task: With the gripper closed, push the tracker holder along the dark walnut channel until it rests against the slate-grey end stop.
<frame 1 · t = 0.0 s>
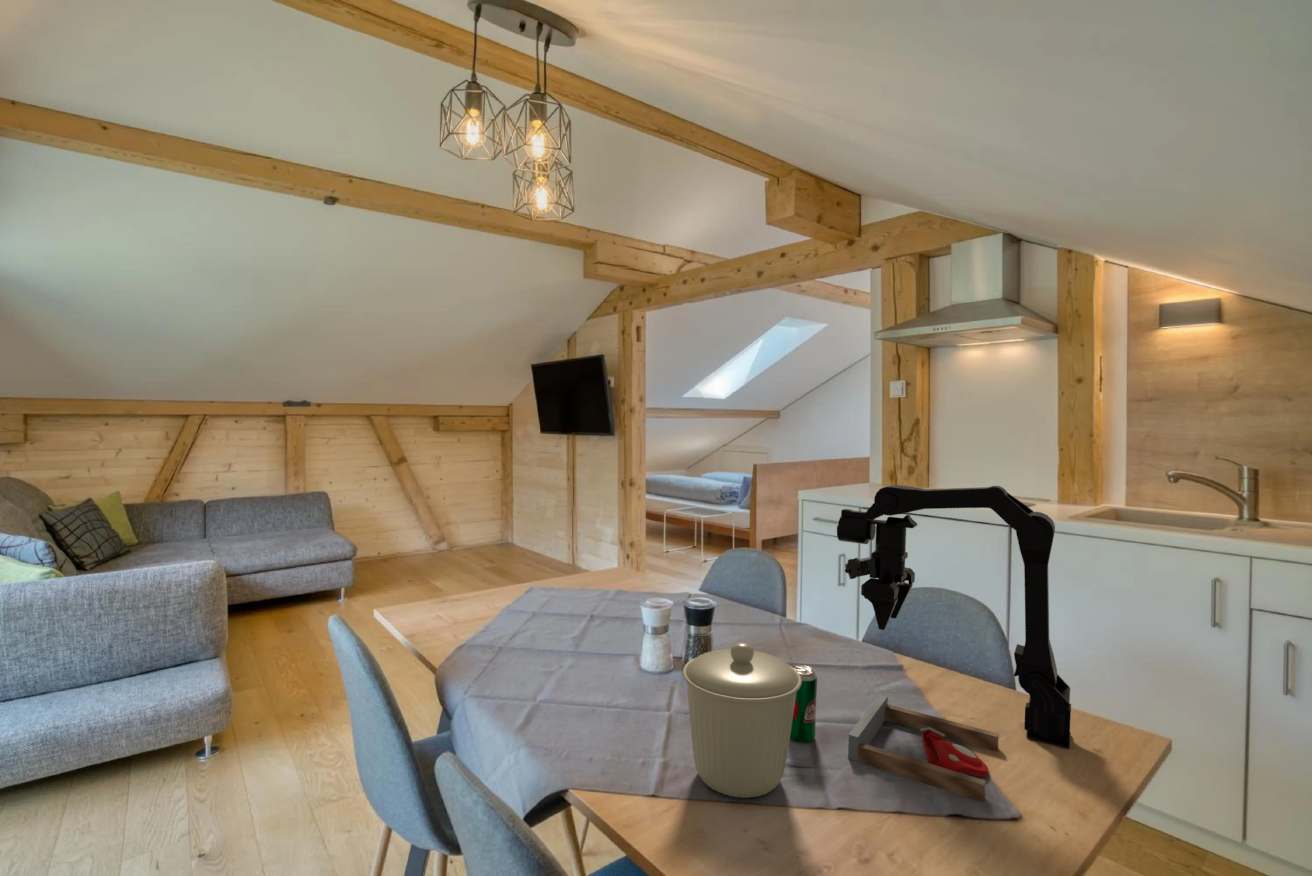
hand: (887, 623, 128), 15 cm above the table, tool pointing down, fingers open, 9 cm apart
soda can: (800, 738, 111), on the table
tracker holder: (951, 763, 104), on the table
walnut channel: (924, 752, 106), on the table
end stop: (868, 736, 111), on the table
canister: (738, 779, 97), on the table
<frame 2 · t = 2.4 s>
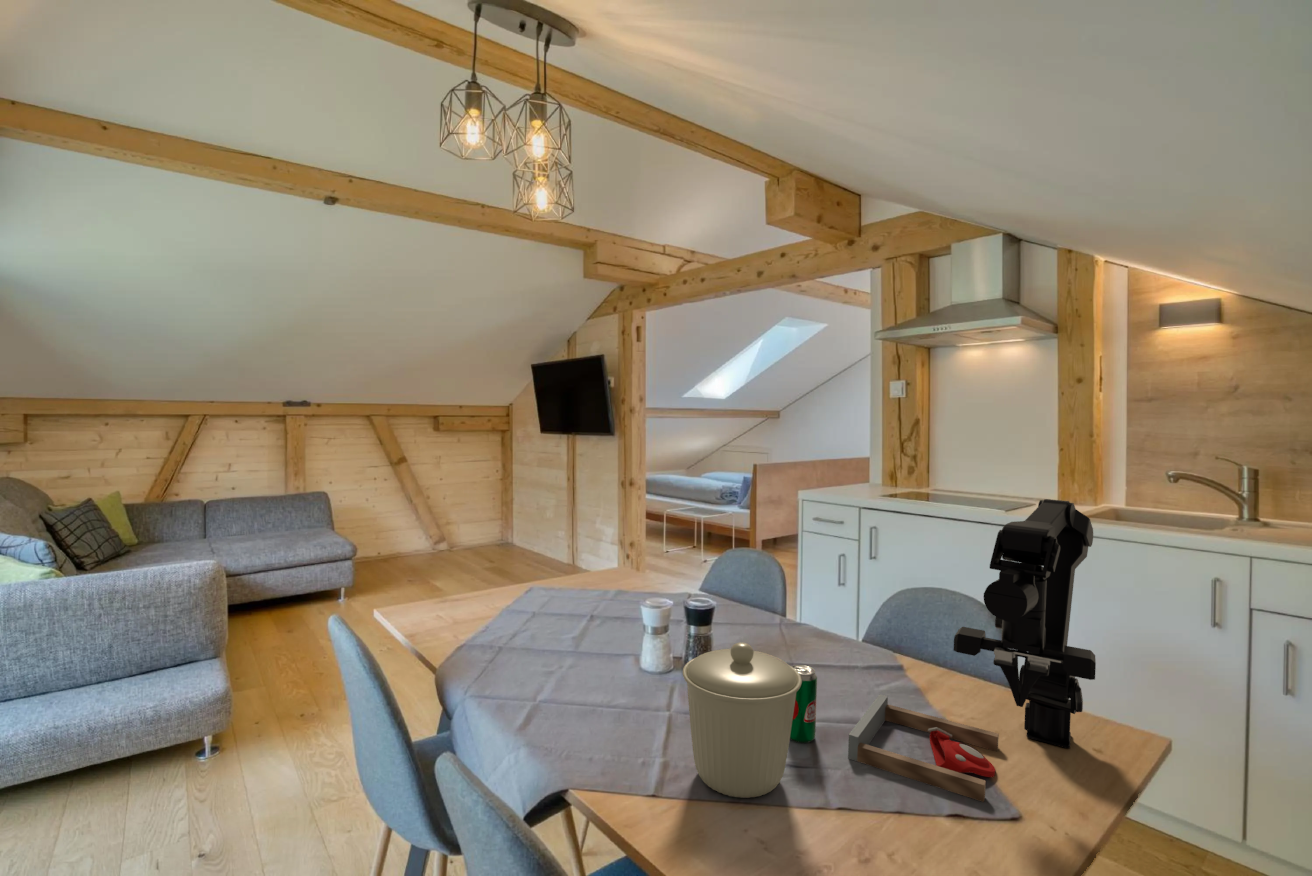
hand: (1019, 705, 98), 12 cm above the table, tool pointing down, fingers closed
tracker holder: (958, 764, 104), on the table
everything else where it was.
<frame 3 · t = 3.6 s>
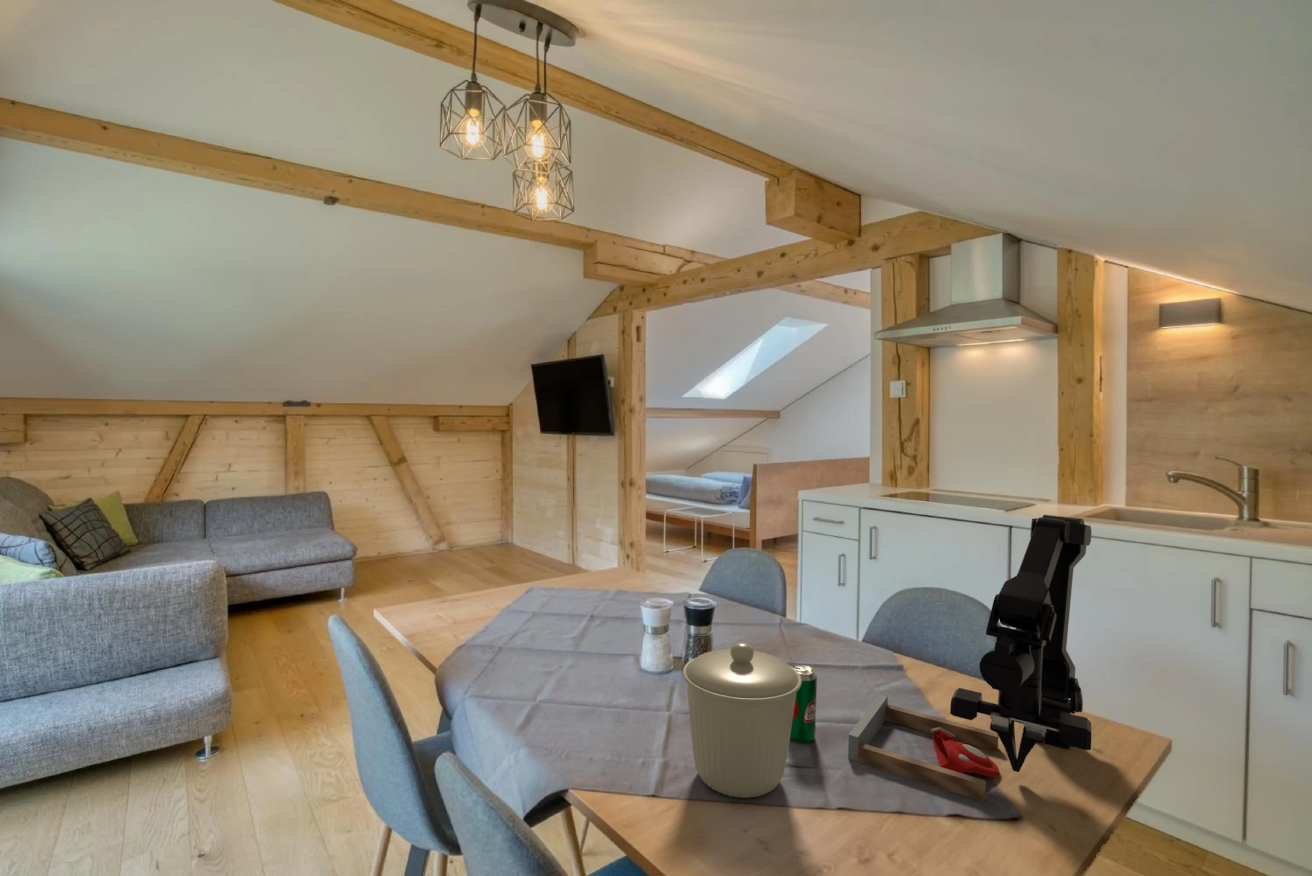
hand: (1016, 770, 99), 2 cm above the table, tool pointing down, fingers closed
nothing on the table moved.
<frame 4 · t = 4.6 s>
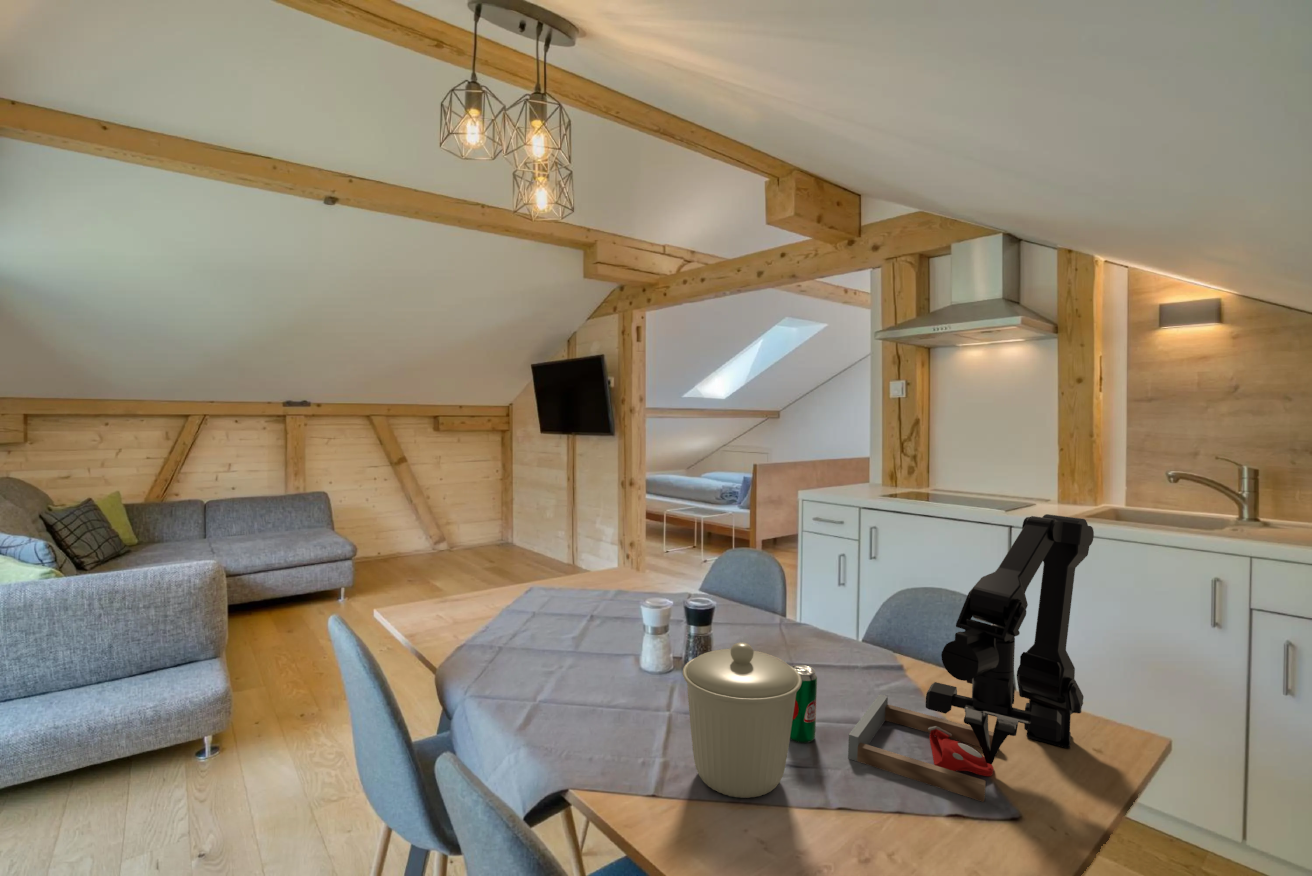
hand: (989, 762, 101), 2 cm above the table, tool pointing down, fingers closed
nothing on the table moved.
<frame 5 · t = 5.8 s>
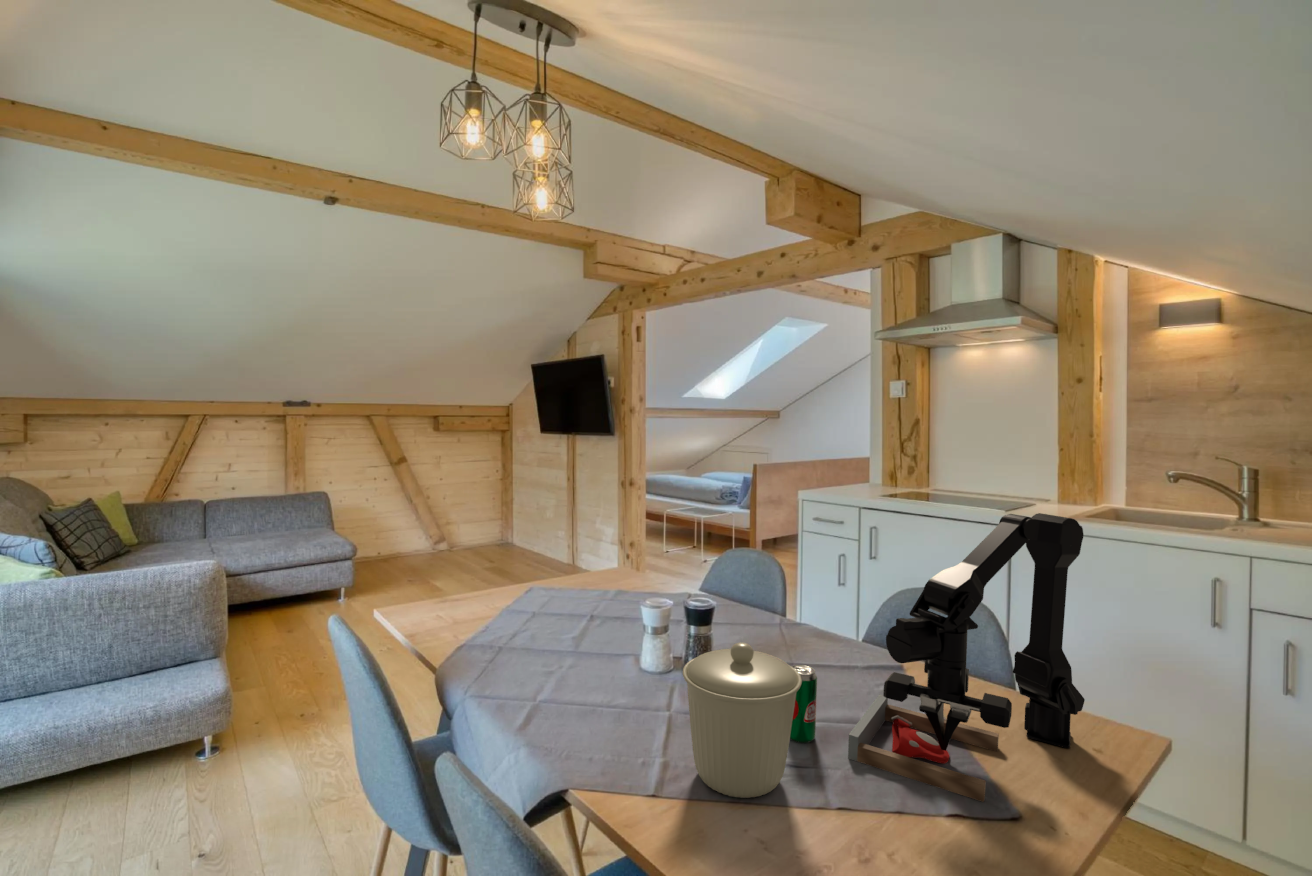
hand: (944, 748, 104), 2 cm above the table, tool pointing down, fingers closed
tracker holder: (916, 750, 108), on the table
everything else where it was.
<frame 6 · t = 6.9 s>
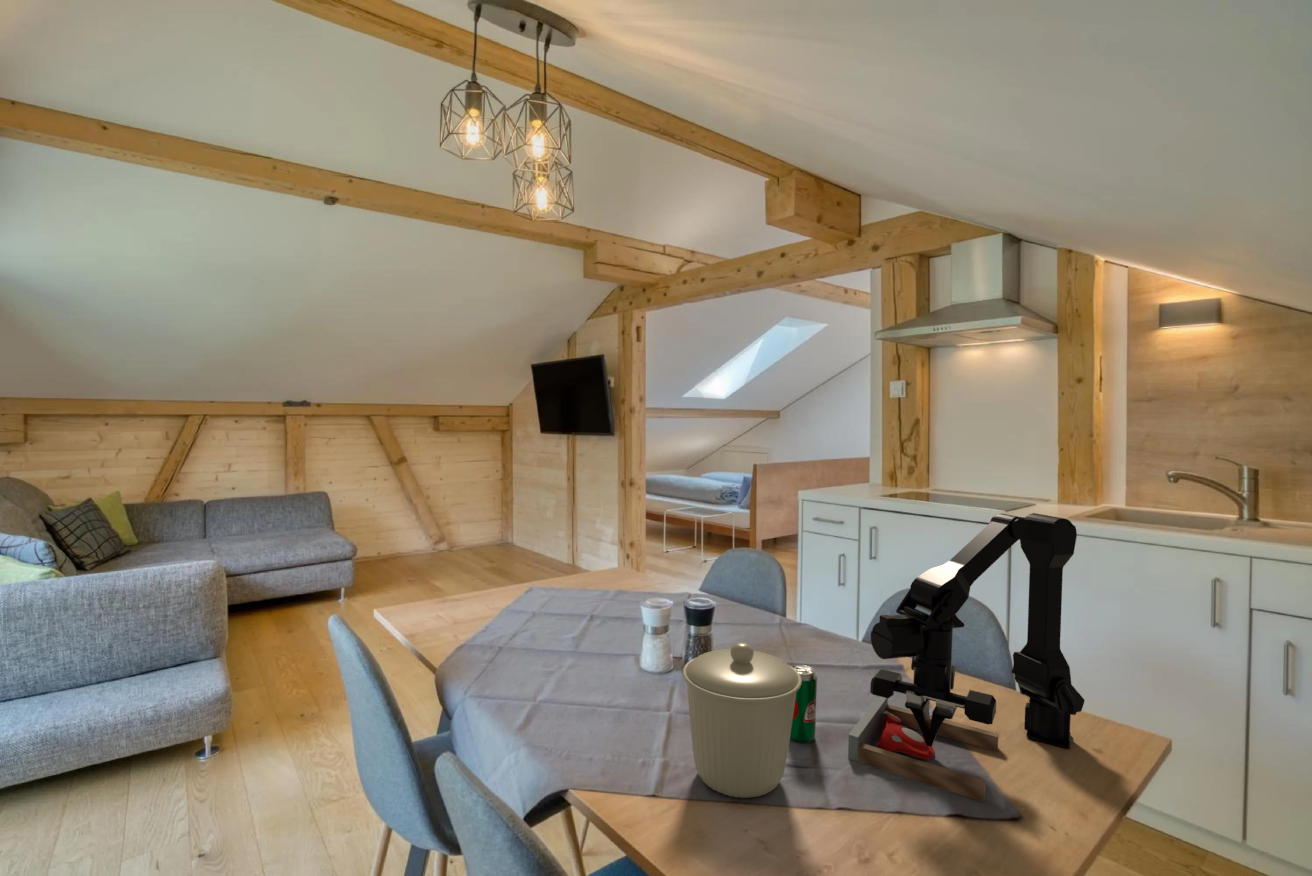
hand: (929, 744, 106), 2 cm above the table, tool pointing down, fingers closed
tracker holder: (902, 746, 109), on the table, touching gripper
everything else where it was.
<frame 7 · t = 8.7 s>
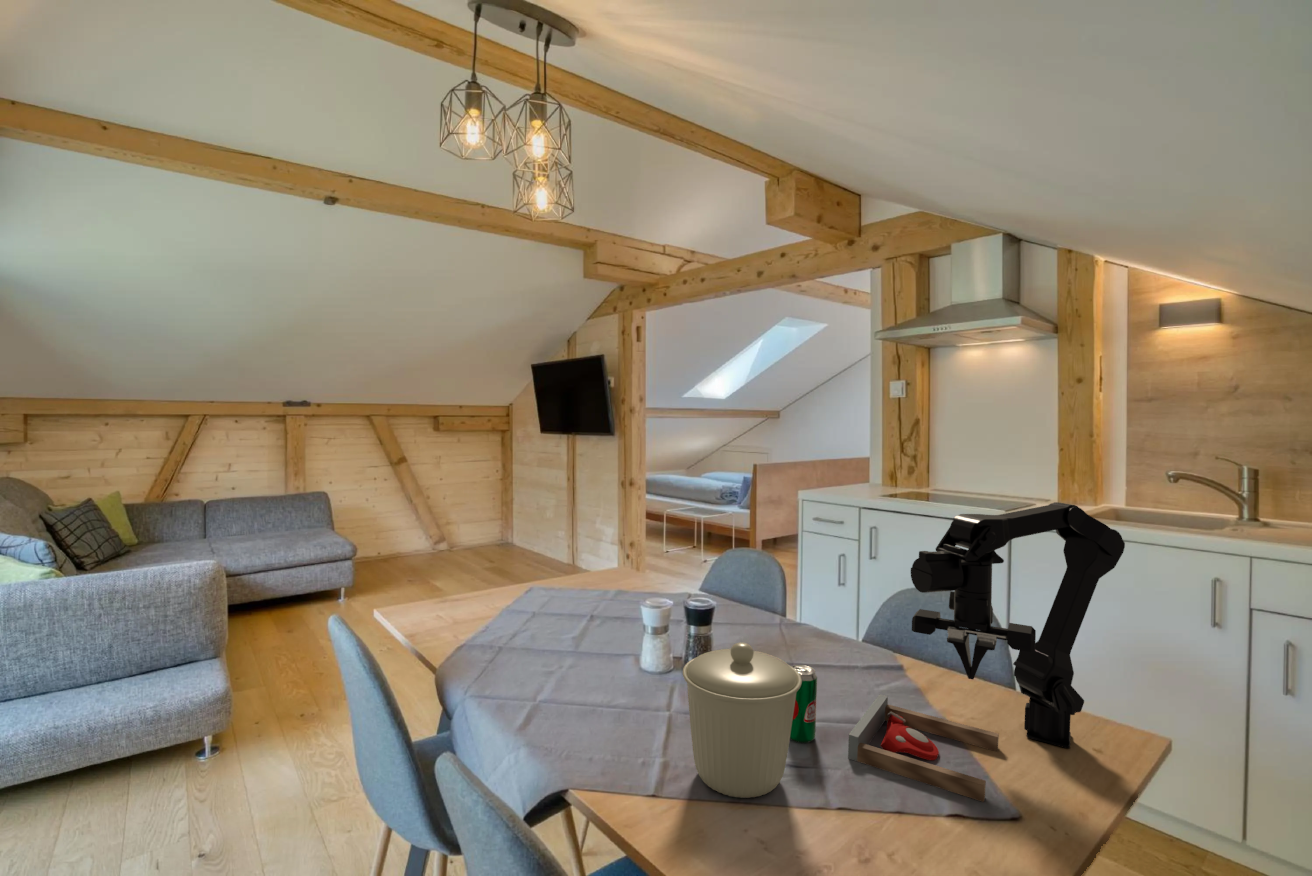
hand: (971, 678, 109), 12 cm above the table, tool pointing down, fingers closed
tracker holder: (907, 747, 109), on the table
everything else where it was.
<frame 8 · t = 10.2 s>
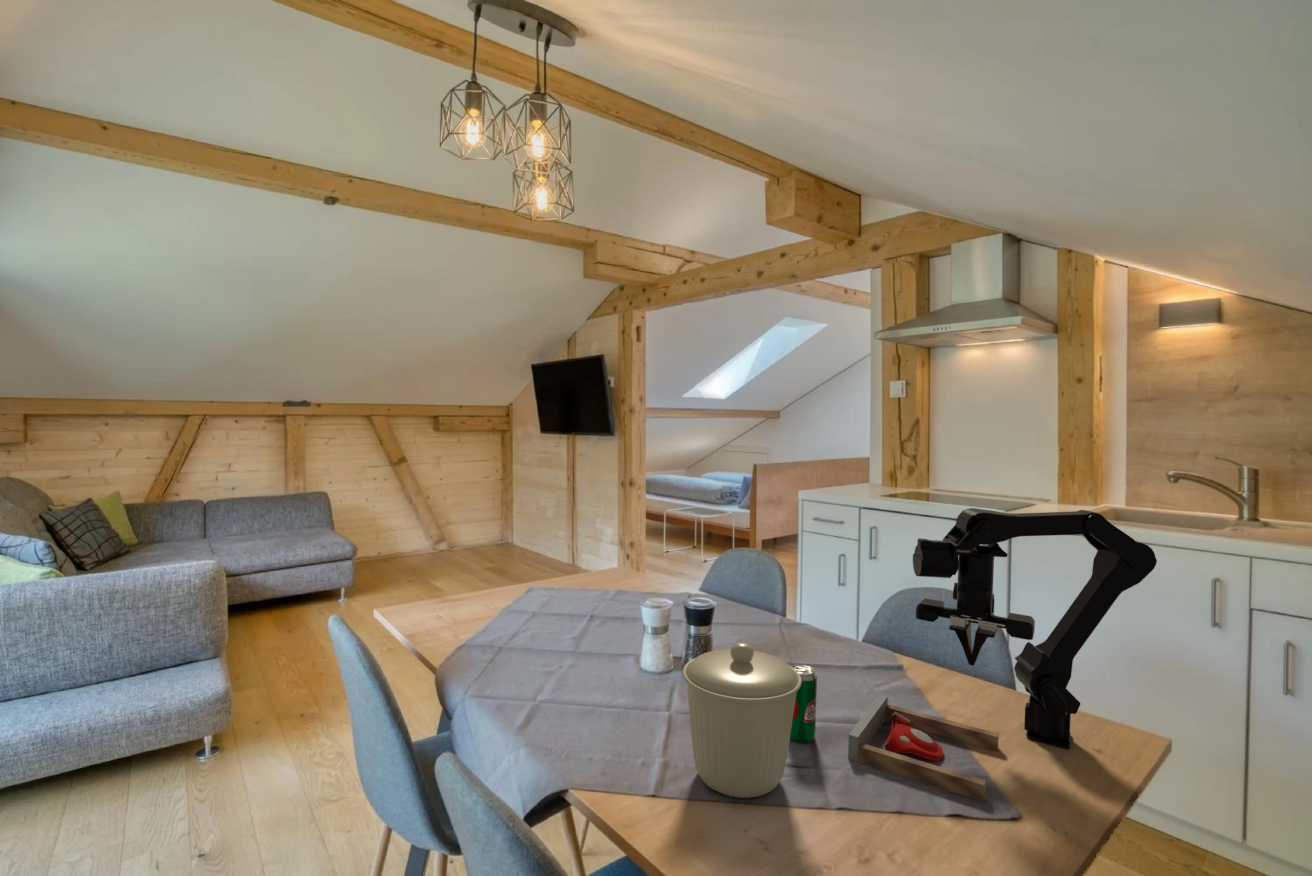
hand: (971, 664, 114), 12 cm above the table, tool pointing down, fingers closed
nothing on the table moved.
at the end: tracker holder 2.3 cm from the target spot, on the table; tracker holder tilted 0° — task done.
